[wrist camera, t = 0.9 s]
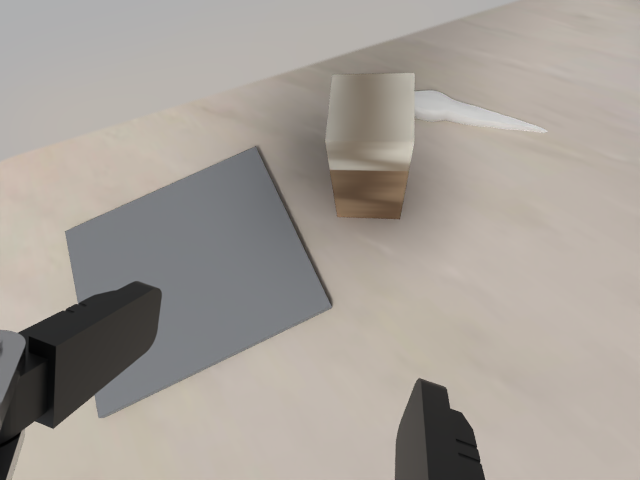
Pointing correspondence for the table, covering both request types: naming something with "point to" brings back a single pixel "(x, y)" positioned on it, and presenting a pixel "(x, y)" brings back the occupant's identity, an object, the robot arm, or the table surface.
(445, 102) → the white tapered spike part
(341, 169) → the cream and brown block
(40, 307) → the table surface
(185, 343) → the charcoal mat
